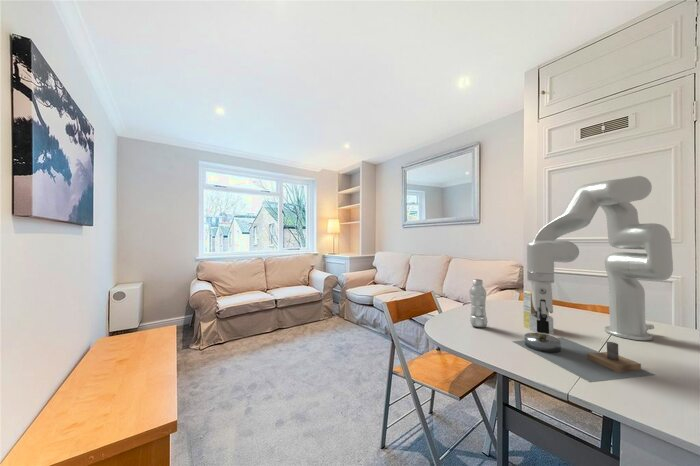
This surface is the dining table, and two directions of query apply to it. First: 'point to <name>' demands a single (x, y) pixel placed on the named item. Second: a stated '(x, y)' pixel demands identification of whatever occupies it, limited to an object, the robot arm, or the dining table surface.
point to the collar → (533, 323)
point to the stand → (613, 359)
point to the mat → (583, 362)
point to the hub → (542, 343)
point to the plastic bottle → (478, 304)
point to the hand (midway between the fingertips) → (541, 328)
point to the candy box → (528, 307)
